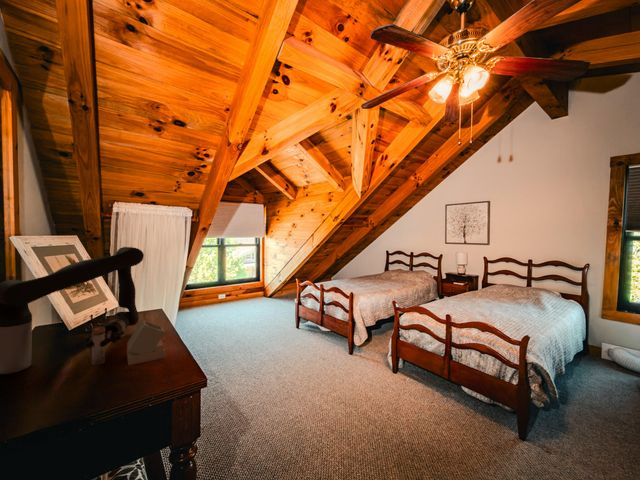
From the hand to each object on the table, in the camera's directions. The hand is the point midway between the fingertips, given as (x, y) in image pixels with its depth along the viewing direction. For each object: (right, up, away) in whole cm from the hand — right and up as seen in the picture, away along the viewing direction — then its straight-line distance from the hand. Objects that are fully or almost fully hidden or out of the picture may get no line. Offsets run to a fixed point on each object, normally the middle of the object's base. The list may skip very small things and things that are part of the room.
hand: (95, 344), depth 109 cm
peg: (-1, -8, +3) cm, 9 cm away
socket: (+13, -9, +10) cm, 19 cm away
